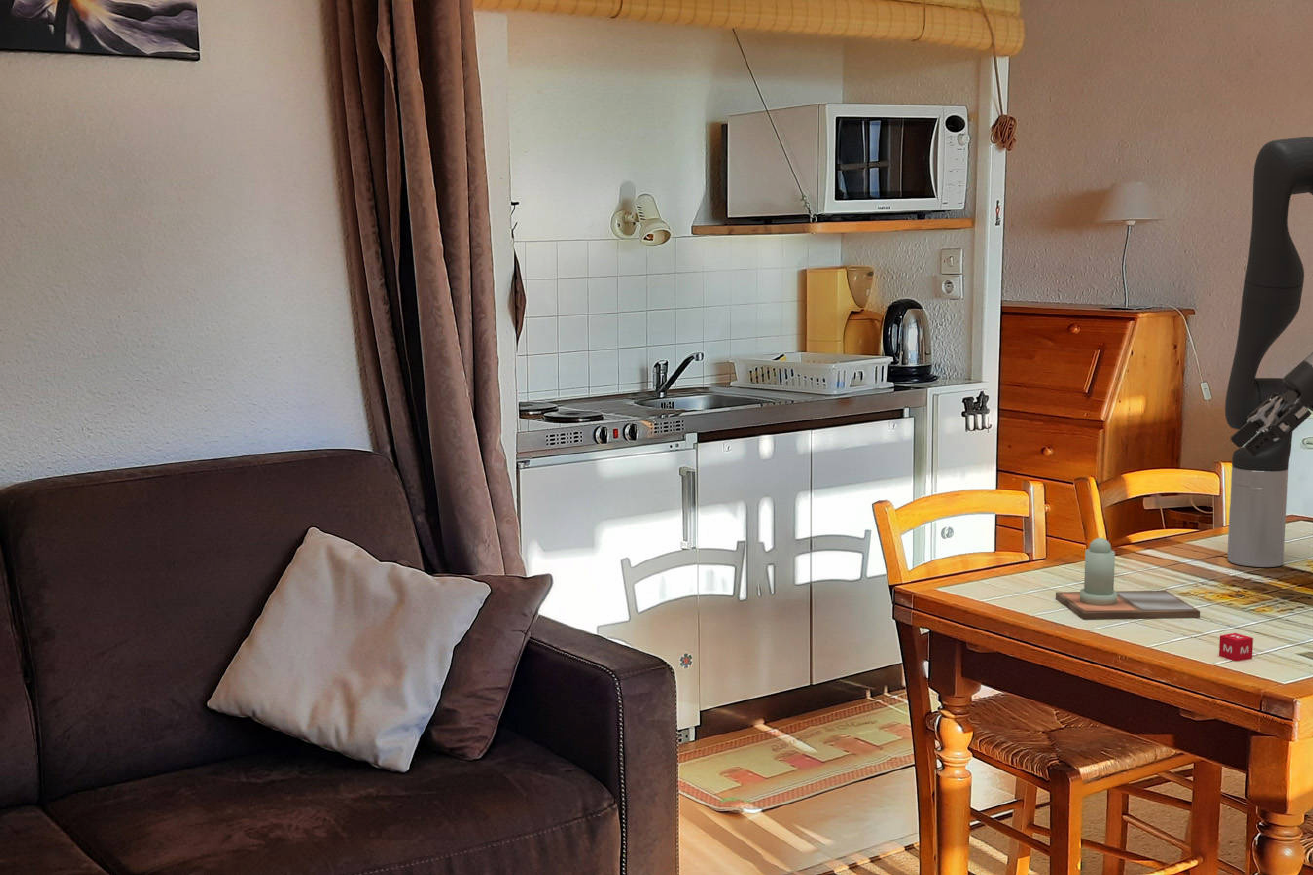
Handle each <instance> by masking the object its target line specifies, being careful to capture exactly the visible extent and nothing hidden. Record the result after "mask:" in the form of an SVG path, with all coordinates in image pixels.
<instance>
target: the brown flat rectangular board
mask: <svg viewBox="0 0 1313 875" xmlns="http://www.w3.org/2000/svg"><path fill="white" fill-rule="evenodd" d="M1116 592H1117V593H1118V594H1117V604H1115V605H1110V606H1097V605H1090V604H1085V603H1083V602H1081V601H1080V591H1072V592H1070V591H1067V592H1066V591H1064V592H1063V591H1059V592H1057V591H1056V592H1055V600H1057V601H1058V602H1060V603H1061V604H1062V605H1064V606H1065V607H1067V609H1069V610H1070V611H1072V612H1073V613H1074V614H1076V615H1077V616H1078V617H1079V618H1081V619H1082V621H1083V620H1087V621H1088V620H1130V619H1131V620H1133V619H1134V620H1135V619H1136V620H1139V619H1143V620H1145V619H1147V620H1148V619H1189V618H1190V619H1197V618H1199V619H1200V618H1201V611H1200V610H1199V609H1198V608H1196V607H1194V606H1192V605H1190V604H1189V603H1187V602H1185V601H1184V600H1182V599H1181V598H1179V597H1177V596H1175V595H1174V594H1172V593H1170V592H1169V591H1167V590H1135V591H1134V590H1132V591H1126V590H1125V591H1124V590H1123V591H1120V590H1119V591H1116Z"/></svg>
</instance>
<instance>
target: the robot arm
mask: <svg viewBox="0 0 1313 875" xmlns="http://www.w3.org/2000/svg"><path fill="white" fill-rule="evenodd" d="M1257 153H1258V154H1257V155H1256V160H1255V162H1254V167H1253V168H1254V169H1253V179H1252V203H1251V204H1252V208H1251V210H1252V211H1251V212H1252V213H1251V231H1250V240H1249V248H1248V249H1249V250H1248V257H1247V263H1246V264H1247V265H1246V270H1245V274H1244V281H1243V282H1244V284H1243V291H1242V298H1241V307H1240V308H1241V310H1240V317H1239V318H1240V319H1239V327H1238V335H1237V342H1236V346H1235V351H1234V357H1233V361H1232V366H1231V371H1230V376H1229V381H1228V385H1227V390H1226V395H1225V402H1224V403H1225V404H1224V413H1225V414H1224V415H1225V419H1226V423H1227V424H1228V426H1229V428H1231V429H1234V430H1236V432H1235V433H1233V435H1232V436H1230V441H1231V443H1233V444H1234V445H1235V446H1236V447H1237V448H1238V449H1236V450H1235V451H1234V452H1233V454H1232V456H1231V457H1232V461H1231V478H1230V479H1231V480H1230V481H1231V484H1230V485H1231V486H1230V505H1229V516H1228V517H1229V518H1228V532H1227V533H1228V536H1227V538H1228V539H1227V553H1226V554H1227V555H1226V556H1227V561H1228V562H1230V563H1233V564H1236V565H1240V566H1245V567H1256V568H1273V567H1274V568H1275V567H1280V566H1283V564H1284V559H1285V558H1284V554H1285V542H1286V540H1285V539H1286V524H1287V523H1286V522H1287V506H1288V505H1287V502H1288V484H1289V483H1288V482H1289V464H1290V463H1289V462H1290V456H1291V451H1292V441H1293V432H1294V431H1295V430H1296V428H1297V429H1298V427H1299V426H1300V425H1301V424H1302V423H1304V421H1306V420H1307V419H1308V418H1309V417H1310V416H1311V415H1312V412H1313V351H1312V352H1311V353H1310V354H1309V355H1307V356H1306V357H1305V358H1304V359H1303V360H1302V361H1301V362H1300V363H1299V364H1297V365H1296V366H1295V367H1294V368H1293V369H1292V370H1291V371H1289V372H1288V373H1287V374H1286V375H1284V377H1283V378H1282V377H1256V376H1257V372H1258V369H1259V367H1260V364H1261V361H1262V360H1263V358H1264V356H1265V355H1266V353H1267V351H1268V350H1269V349H1270V348H1271V346H1272V345H1273V343H1275V342H1276V341H1277V339H1278V338H1279V337H1280V336H1281V335H1282V334H1283V333H1284V332H1285V330H1287V328H1288V327H1289V326H1290V325H1291V323H1292V322H1293V320H1294V318H1296V317H1297V314H1298V313H1299V310H1300V307H1301V302H1302V301H1301V300H1302V293H1303V288H1304V282H1305V281H1304V280H1305V270H1304V267H1303V266H1304V265H1303V262H1302V258H1301V257H1300V255H1299V253H1298V250H1297V248H1296V246H1295V243H1294V242H1293V239H1292V236H1291V235H1290V232H1289V222H1288V219H1289V207H1290V201H1291V196H1292V195H1293V196H1294V195H1300V194H1307V193H1309V194H1310V195H1312V196H1313V136H1301V137H1290V138H1282V139H1281V138H1280V139H1273V140H1270V141H1268V142H1267V143H1265V144H1264V145H1263V146H1261V148H1260V150H1259V151H1258V152H1257Z"/></svg>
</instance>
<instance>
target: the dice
mask: <svg viewBox="0 0 1313 875" xmlns="http://www.w3.org/2000/svg"><path fill="white" fill-rule="evenodd" d="M1218 643H1219V645H1218V646H1219V648H1218V649H1219V650H1218V656H1219V657H1221V658H1224V659H1227V660H1230V661H1233V662H1242V661H1247V660H1252V659H1253V647H1254V646H1253V645H1254V644H1253V643H1254V637H1251V636H1247V635H1245V634H1240V633H1237V632H1232V633H1226V634H1225V633H1224V634H1220V635H1219V642H1218Z"/></svg>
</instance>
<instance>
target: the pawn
mask: <svg viewBox="0 0 1313 875" xmlns="http://www.w3.org/2000/svg"><path fill="white" fill-rule="evenodd" d="M1084 553H1085V554H1084V556H1085V557H1084V580H1083V581H1084V583H1083V584H1084V585H1083V588H1081V589H1080V590H1079V592H1080V601H1081V602H1083V603H1085V604H1090V605H1097V606H1110V605H1115V604H1117V594H1118V593H1117V591H1116V590H1115V586H1114V584H1115V583H1114V582H1115V562H1116V558H1115V557H1116V552H1115V551H1114V550H1112V546H1111V543H1110V542H1109V541H1108V540H1107V538H1102V537H1097V538H1095V539H1093V540H1092V541H1091V542H1090V544H1089V548H1087V549H1085V552H1084Z"/></svg>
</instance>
